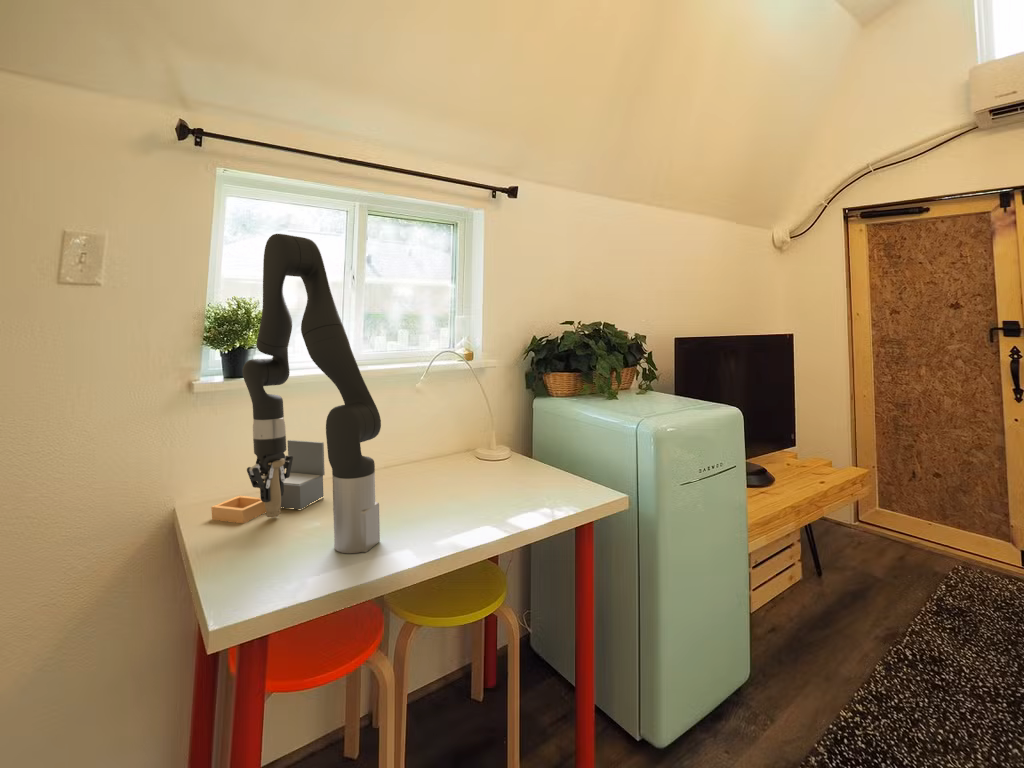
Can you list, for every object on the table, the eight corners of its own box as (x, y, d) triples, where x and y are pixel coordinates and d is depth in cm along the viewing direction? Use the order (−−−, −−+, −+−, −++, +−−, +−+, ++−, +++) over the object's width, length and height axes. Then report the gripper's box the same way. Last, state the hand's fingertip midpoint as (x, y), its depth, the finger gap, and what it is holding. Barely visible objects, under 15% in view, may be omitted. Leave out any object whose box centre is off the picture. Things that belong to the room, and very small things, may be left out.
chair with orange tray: (325, 497, 136) (323, 442, 134) (269, 526, 114) (266, 461, 113) (275, 492, 140) (272, 438, 138) (212, 519, 118) (208, 456, 117)
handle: (284, 517, 118) (282, 462, 116) (257, 520, 116) (254, 463, 115) (288, 511, 122) (286, 457, 121) (262, 513, 121) (259, 459, 119)
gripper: (260, 441, 109) (263, 509, 111) (300, 430, 123) (303, 491, 125) (235, 439, 111) (238, 507, 113) (277, 429, 125) (280, 489, 126)
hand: (272, 498), depth 119 cm, fingers closed on handle, 4 cm apart
